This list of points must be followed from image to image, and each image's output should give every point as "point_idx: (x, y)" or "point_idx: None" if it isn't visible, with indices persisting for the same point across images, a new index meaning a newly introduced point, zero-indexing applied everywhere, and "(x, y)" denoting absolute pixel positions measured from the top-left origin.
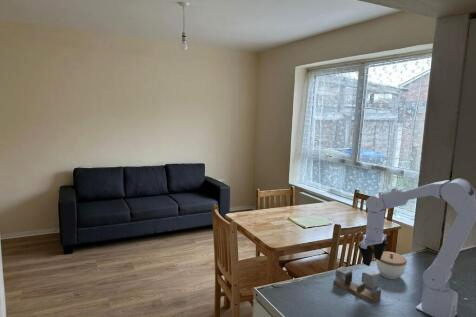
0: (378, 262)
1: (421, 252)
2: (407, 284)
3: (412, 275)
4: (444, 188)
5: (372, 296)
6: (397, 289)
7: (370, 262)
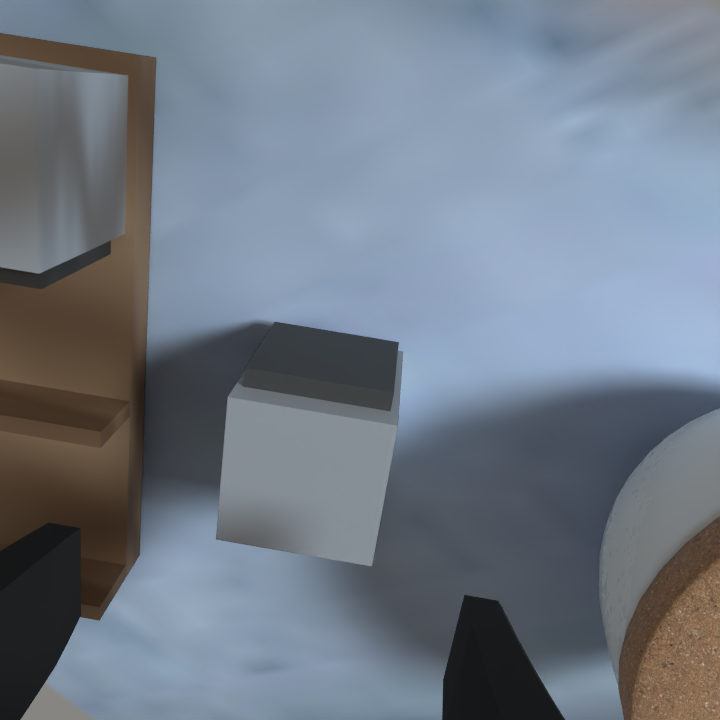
0: (691, 498)
1: None
2: None
3: None
4: None
5: (41, 526)
6: (445, 625)
7: (33, 684)
